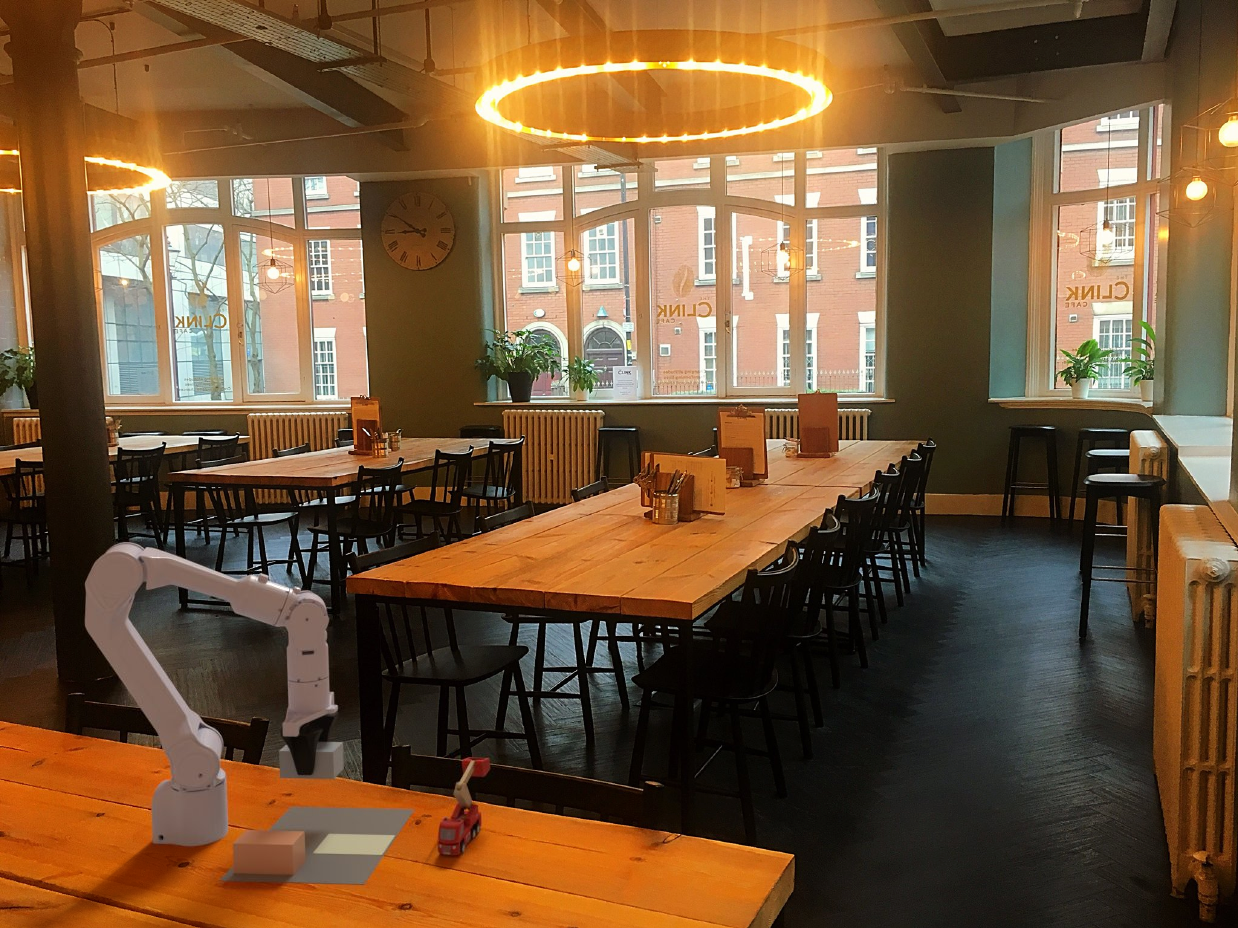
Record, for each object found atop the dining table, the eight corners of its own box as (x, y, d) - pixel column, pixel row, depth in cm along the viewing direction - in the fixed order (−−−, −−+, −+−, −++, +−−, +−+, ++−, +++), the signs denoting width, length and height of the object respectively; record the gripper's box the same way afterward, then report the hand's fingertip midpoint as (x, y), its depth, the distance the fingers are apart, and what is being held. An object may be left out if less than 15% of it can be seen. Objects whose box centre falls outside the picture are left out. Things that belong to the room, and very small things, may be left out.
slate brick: (279, 778, 145) (279, 750, 145) (291, 767, 149) (290, 741, 149) (333, 779, 144) (333, 751, 144) (343, 768, 148) (342, 742, 148)
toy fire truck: (435, 857, 137) (433, 788, 136) (470, 815, 151) (469, 752, 150) (458, 859, 136) (457, 790, 136) (491, 817, 150) (490, 754, 149)
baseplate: (219, 889, 129) (219, 880, 129) (291, 814, 152) (291, 806, 152) (364, 893, 127) (364, 883, 127) (414, 817, 150) (414, 808, 150)
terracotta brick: (233, 873, 131) (232, 843, 130) (247, 858, 135) (246, 829, 134) (293, 874, 130) (292, 844, 130) (305, 860, 134) (304, 831, 134)
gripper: (316, 692, 138) (319, 788, 139) (352, 663, 153) (354, 751, 154) (266, 691, 139) (270, 787, 140) (307, 663, 153) (310, 750, 154)
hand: (311, 768), depth 147 cm, fingers closed on slate brick, 4 cm apart
